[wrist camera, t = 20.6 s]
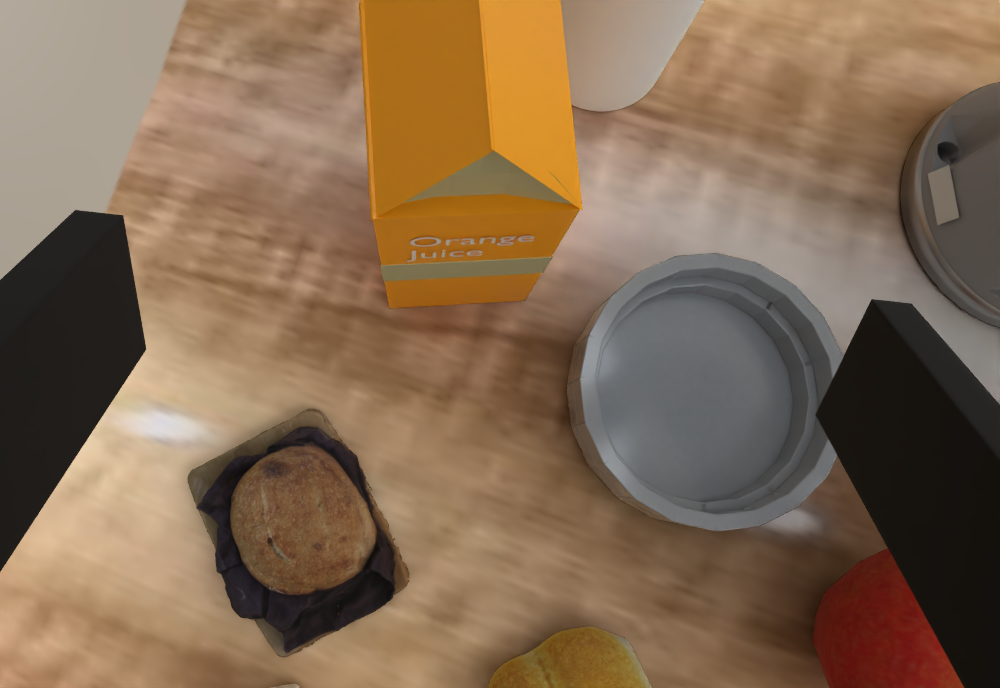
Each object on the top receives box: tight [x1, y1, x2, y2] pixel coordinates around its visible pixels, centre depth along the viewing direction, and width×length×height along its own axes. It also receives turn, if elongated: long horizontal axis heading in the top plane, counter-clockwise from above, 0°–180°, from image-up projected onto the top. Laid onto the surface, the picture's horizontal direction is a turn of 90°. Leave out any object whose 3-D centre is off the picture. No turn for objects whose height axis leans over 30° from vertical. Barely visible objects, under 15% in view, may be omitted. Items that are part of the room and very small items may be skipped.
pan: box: [566, 253, 843, 531], centre depth 40 cm, size 14×14×4 cm
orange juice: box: [359, 0, 582, 308], centre depth 32 cm, size 8×9×20 cm
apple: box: [813, 549, 964, 688], centre depth 34 cm, size 11×11×12 cm
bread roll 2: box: [188, 409, 409, 657], centre depth 36 cm, size 11×8×4 cm
